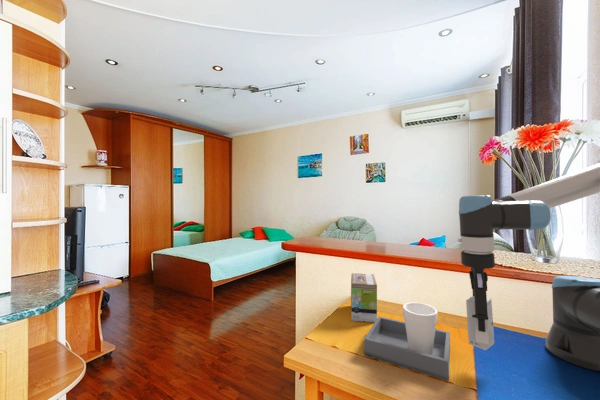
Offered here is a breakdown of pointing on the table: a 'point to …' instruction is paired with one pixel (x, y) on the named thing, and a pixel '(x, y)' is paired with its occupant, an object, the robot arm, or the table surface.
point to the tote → (407, 348)
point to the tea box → (363, 297)
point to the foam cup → (420, 326)
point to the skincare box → (471, 324)
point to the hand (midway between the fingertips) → (480, 335)
